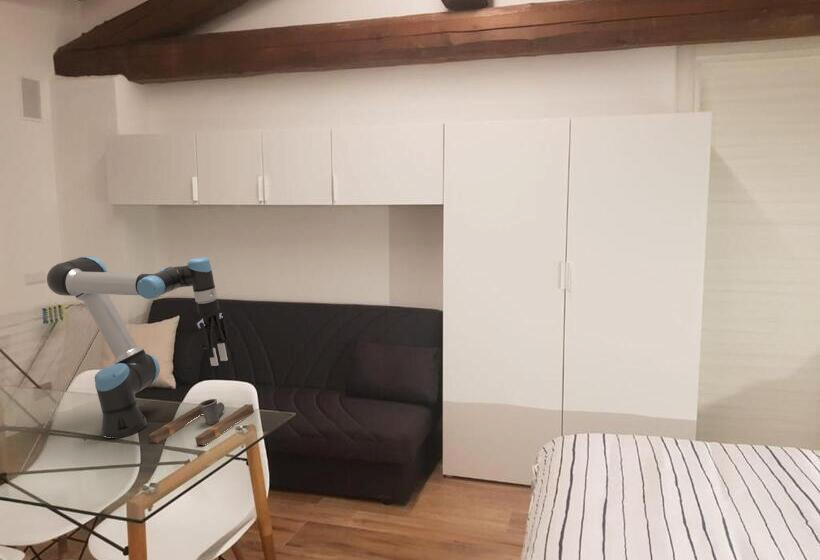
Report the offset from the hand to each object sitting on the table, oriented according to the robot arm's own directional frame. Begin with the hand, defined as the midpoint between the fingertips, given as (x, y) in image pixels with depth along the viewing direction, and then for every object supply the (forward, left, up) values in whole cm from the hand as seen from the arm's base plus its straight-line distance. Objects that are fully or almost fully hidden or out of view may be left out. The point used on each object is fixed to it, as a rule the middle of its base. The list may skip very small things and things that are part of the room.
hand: (219, 362), depth 241 cm
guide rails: (0, -14, -19) cm, 23 cm away
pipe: (0, -8, -19) cm, 21 cm away
